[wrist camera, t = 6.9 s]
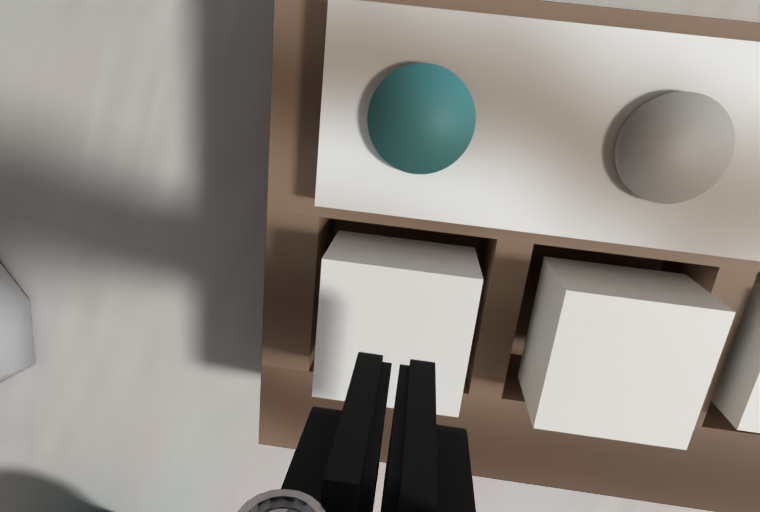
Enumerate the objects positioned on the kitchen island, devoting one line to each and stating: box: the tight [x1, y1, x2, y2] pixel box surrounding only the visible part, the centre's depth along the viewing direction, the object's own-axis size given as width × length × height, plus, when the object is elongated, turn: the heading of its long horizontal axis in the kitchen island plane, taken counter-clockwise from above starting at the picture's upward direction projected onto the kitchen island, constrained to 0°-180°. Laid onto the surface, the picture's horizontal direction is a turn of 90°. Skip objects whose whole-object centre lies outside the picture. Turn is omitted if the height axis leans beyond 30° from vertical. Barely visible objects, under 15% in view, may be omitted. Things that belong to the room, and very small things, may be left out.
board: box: [259, 0, 760, 512], centre depth 16 cm, size 14×20×5 cm
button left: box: [312, 230, 483, 417], centre depth 15 cm, size 4×4×3 cm
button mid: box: [518, 256, 736, 450], centre depth 14 cm, size 4×4×3 cm
